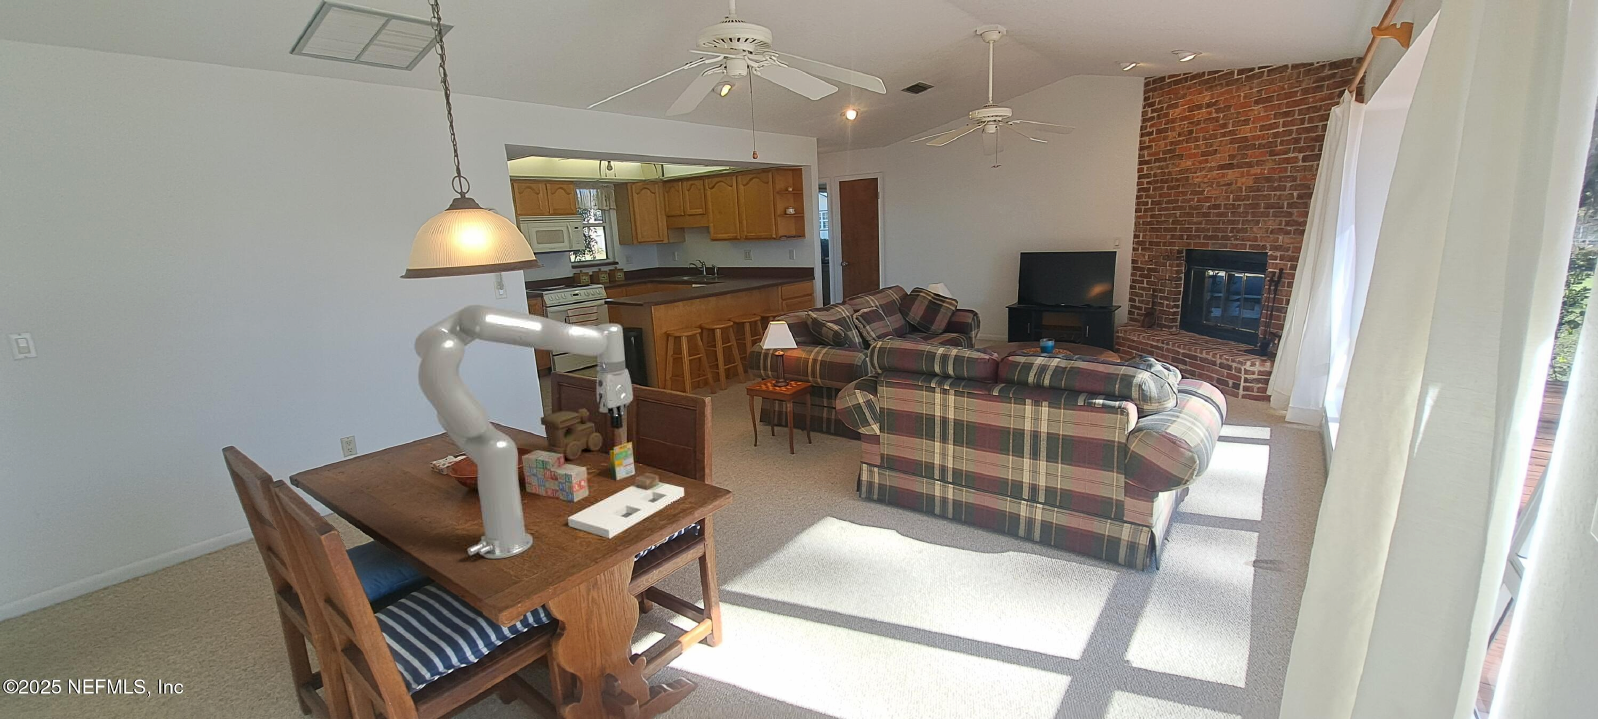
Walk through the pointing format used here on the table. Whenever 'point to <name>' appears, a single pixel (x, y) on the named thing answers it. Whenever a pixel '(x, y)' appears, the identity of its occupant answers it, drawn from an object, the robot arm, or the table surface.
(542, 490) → the stack of blocks
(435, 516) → the table surface
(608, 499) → the trap board
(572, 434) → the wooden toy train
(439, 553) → the table surface
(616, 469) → the crayon box
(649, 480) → the walnut block
